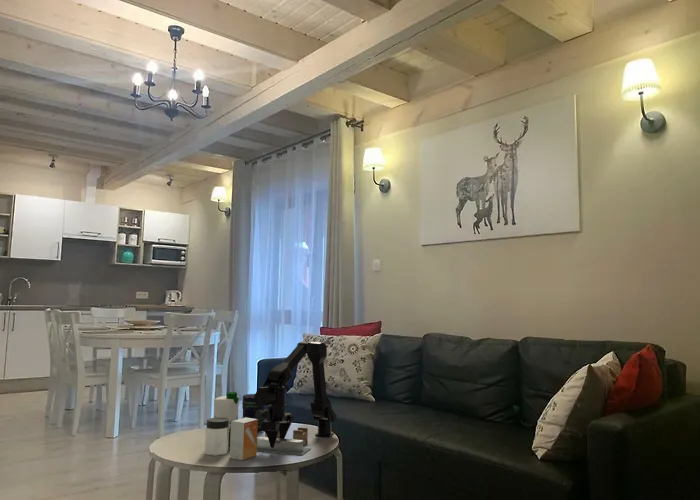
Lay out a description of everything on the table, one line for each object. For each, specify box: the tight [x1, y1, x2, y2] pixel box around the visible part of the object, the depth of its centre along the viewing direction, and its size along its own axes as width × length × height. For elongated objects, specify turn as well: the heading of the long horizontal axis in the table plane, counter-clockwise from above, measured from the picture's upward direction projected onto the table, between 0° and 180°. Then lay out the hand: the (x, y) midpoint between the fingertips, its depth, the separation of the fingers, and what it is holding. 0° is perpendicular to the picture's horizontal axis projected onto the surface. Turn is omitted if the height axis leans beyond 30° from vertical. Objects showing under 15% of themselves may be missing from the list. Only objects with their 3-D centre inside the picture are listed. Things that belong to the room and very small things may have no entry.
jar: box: [204, 417, 229, 457], centre depth 197 cm, size 9×8×12 cm
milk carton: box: [213, 391, 240, 448], centre depth 210 cm, size 9×9×20 cm
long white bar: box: [257, 436, 304, 452], centre depth 202 cm, size 4×20×4 cm, turn 75°
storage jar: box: [241, 393, 266, 433], centre depth 234 cm, size 10×10×15 cm
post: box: [292, 426, 309, 445], centre depth 212 cm, size 6×4×6 cm
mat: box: [257, 447, 312, 456], centre depth 201 cm, size 9×24×1 cm, turn 75°
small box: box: [229, 417, 258, 461], centre depth 193 cm, size 8×6×13 cm
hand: (277, 444), depth 201 cm, fingers open, 9 cm apart
